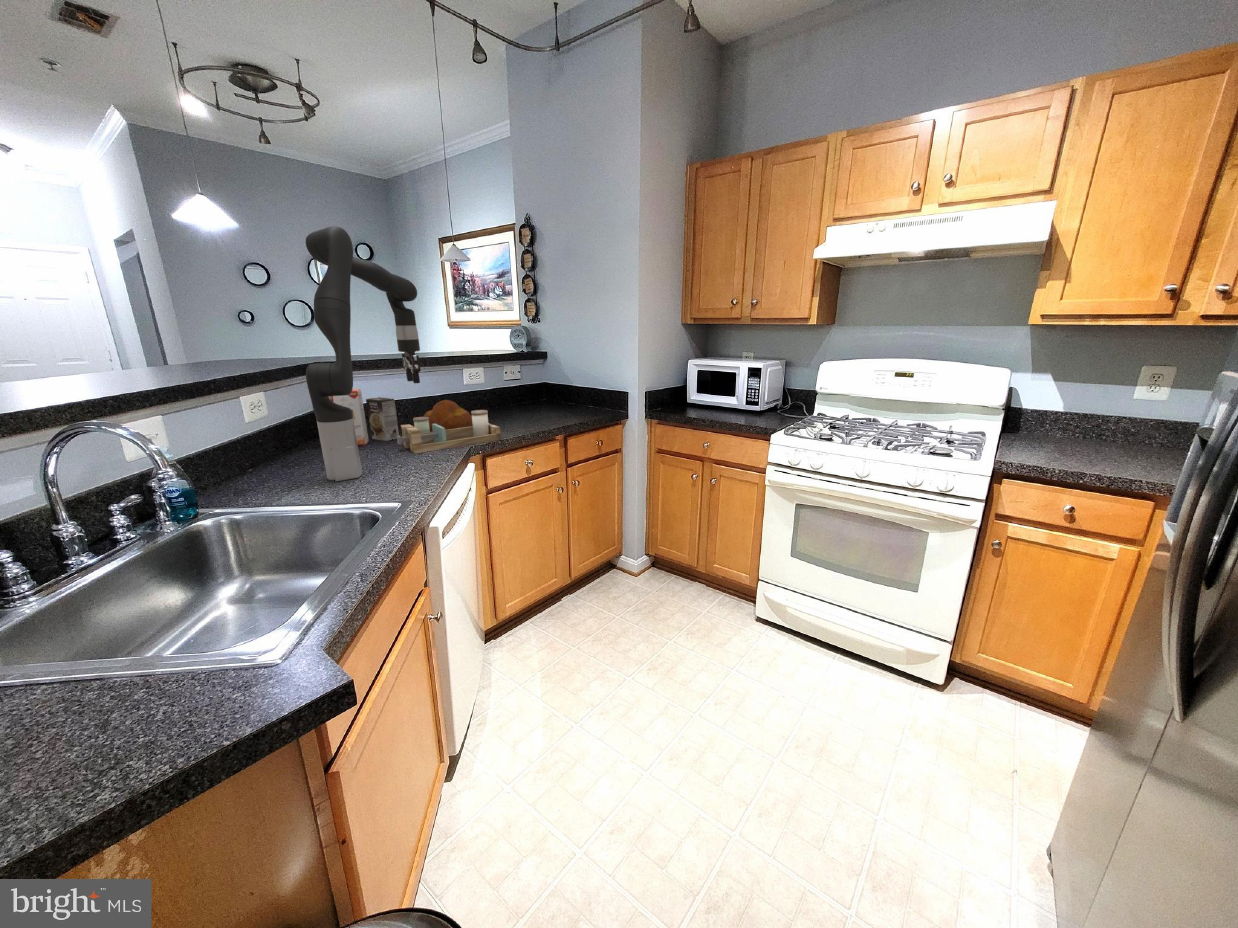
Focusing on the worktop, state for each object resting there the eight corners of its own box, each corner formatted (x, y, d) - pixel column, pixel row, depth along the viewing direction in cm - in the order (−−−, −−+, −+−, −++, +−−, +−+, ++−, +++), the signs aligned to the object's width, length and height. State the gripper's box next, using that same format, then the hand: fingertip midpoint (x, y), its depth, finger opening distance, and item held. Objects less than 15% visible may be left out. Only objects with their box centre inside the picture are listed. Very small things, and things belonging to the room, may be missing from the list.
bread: (412, 437, 196) (408, 407, 192) (434, 422, 227) (431, 396, 224) (465, 435, 197) (461, 405, 194) (479, 420, 229) (477, 395, 225)
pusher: (447, 446, 177) (444, 428, 175) (403, 453, 168) (400, 433, 166) (437, 441, 186) (435, 423, 184) (395, 447, 177) (392, 428, 175)
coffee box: (371, 439, 193) (364, 399, 188) (385, 435, 198) (379, 396, 194) (386, 441, 188) (380, 400, 184) (400, 438, 194) (394, 398, 189)
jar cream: (492, 438, 190) (490, 411, 187) (477, 441, 187) (474, 413, 184) (486, 436, 195) (483, 409, 192) (471, 438, 191) (468, 411, 188)
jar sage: (433, 440, 189) (430, 418, 187) (418, 442, 186) (415, 420, 184) (428, 437, 194) (426, 416, 191) (414, 439, 190) (411, 418, 188)
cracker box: (324, 448, 179) (314, 391, 173) (329, 444, 185) (319, 389, 179) (366, 445, 182) (357, 390, 177) (369, 441, 188) (360, 388, 182)
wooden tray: (501, 439, 188) (499, 419, 186) (414, 453, 169) (411, 431, 167) (486, 433, 199) (484, 414, 197) (403, 446, 180) (400, 425, 178)
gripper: (423, 338, 175) (429, 383, 180) (412, 337, 186) (418, 379, 191) (402, 339, 171) (408, 385, 175) (392, 338, 182) (398, 381, 186)
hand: (413, 382), depth 183 cm, fingers open, 8 cm apart
